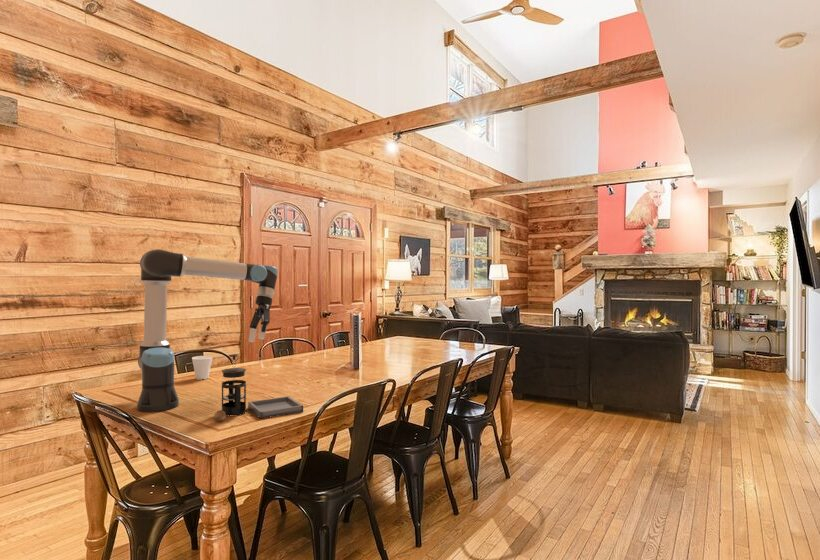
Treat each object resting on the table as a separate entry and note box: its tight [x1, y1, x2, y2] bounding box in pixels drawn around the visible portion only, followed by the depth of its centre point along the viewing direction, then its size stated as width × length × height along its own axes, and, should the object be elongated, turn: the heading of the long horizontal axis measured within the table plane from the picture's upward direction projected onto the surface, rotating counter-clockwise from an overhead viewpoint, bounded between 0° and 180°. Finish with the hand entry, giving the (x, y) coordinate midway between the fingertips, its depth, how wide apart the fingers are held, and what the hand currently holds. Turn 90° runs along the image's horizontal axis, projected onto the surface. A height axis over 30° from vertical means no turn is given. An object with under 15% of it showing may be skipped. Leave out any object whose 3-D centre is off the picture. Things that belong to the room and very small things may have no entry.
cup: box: [191, 355, 214, 381], centre depth 247 cm, size 10×10×11 cm
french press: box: [221, 353, 247, 417], centre depth 189 cm, size 12×9×23 cm
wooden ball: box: [214, 409, 227, 422], centre depth 178 cm, size 4×4×4 cm
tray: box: [247, 395, 304, 419], centre depth 193 cm, size 17×17×2 cm
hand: (255, 340), depth 224 cm, fingers open, 13 cm apart
